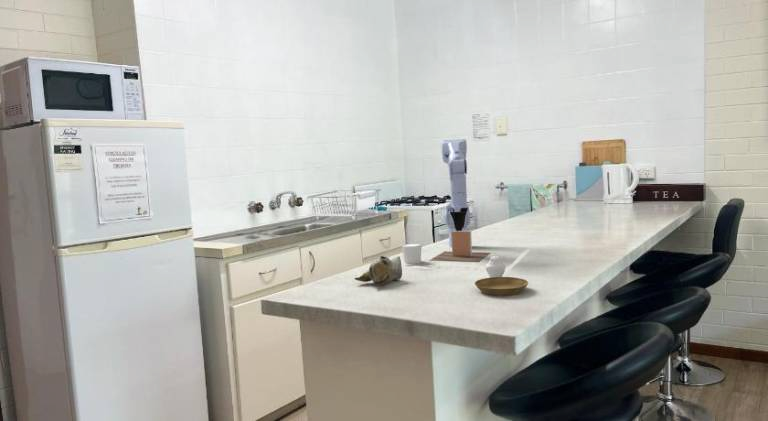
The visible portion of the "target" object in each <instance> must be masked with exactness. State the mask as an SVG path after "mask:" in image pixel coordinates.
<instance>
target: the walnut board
mask: <svg viewBox="0 0 768 421" xmlns="http://www.w3.org/2000/svg"><path fill="white" fill-rule="evenodd" d="M490 254H491V252H481V251H480V252H478V251H472V256H452V251H446V250H445V251H443V252H441V253H439V254H438V255H436V256H434V257H432V258H431V259H429V260H428V261H429V262H456V263H459V262H461V263H480V262H481V261H483V260H484V259H485V258H486V257H487V256H489V255H490Z"/></svg>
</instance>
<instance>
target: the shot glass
mask: <svg viewBox="0 0 768 421" xmlns="http://www.w3.org/2000/svg"><path fill="white" fill-rule="evenodd" d="M422 245H423V244H421V243H406V244H402V245H401V249H402V254H403V262H404V264H407V265H405V267H412V265H411V264H420V263H421V262H422ZM409 264H410V265H409Z"/></svg>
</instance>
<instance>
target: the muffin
mask: <svg viewBox="0 0 768 421" xmlns="http://www.w3.org/2000/svg"><path fill="white" fill-rule="evenodd" d="M484 268H485V270H486V272H487V274H488V276H489V278H491V277H503V276H504V273H505V271H506V268H507V266H506V264H505V263H504V262H503V260H502V258H501V257H500V256H498V255H493V256H490V258H489V261H488V262H487V263H486V264H485V267H484Z"/></svg>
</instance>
